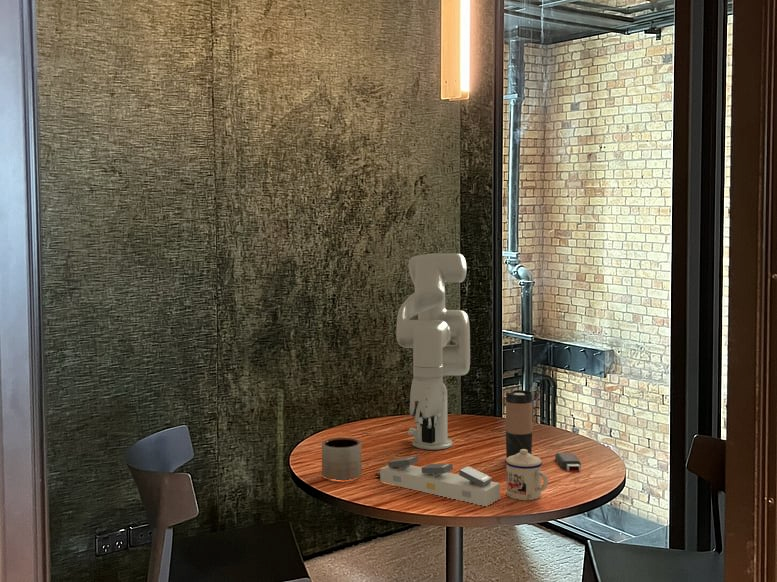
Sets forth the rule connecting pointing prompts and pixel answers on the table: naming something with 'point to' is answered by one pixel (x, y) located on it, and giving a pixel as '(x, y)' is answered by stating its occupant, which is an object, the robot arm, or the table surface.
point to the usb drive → (568, 461)
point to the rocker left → (403, 461)
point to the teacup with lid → (525, 476)
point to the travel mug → (518, 422)
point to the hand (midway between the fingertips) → (428, 441)
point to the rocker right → (475, 476)
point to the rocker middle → (437, 468)
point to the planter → (341, 458)
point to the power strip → (440, 484)
